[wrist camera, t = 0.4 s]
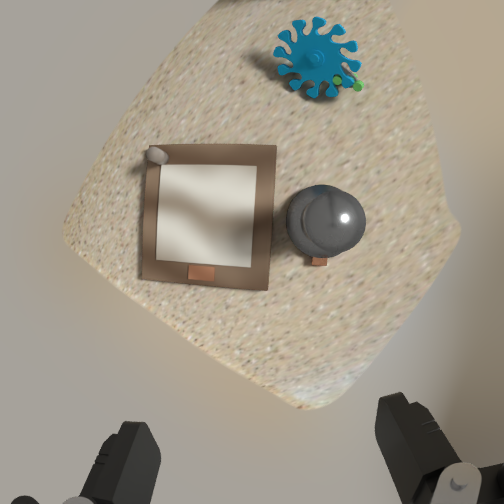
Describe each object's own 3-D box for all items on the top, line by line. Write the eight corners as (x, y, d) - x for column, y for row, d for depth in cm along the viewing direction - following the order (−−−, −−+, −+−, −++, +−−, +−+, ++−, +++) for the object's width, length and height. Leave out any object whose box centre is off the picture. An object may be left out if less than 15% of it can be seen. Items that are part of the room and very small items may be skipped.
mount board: (153, 147, 35) (138, 139, 31) (276, 147, 34) (275, 138, 30) (146, 277, 37) (130, 283, 33) (268, 288, 36) (265, 297, 31)
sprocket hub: (288, 183, 34) (289, 168, 24) (358, 189, 33) (384, 177, 23) (283, 261, 35) (282, 277, 25) (352, 266, 34) (377, 283, 24)
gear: (256, 64, 32) (301, 0, 24) (276, 56, 35) (317, 1, 27) (330, 122, 33) (386, 64, 25) (341, 108, 36) (390, 57, 28)
